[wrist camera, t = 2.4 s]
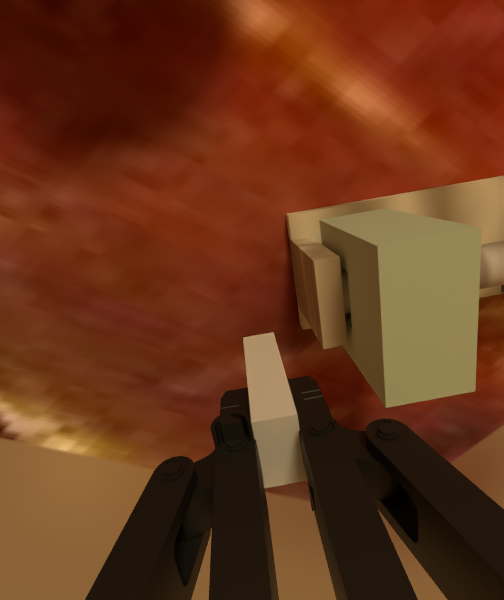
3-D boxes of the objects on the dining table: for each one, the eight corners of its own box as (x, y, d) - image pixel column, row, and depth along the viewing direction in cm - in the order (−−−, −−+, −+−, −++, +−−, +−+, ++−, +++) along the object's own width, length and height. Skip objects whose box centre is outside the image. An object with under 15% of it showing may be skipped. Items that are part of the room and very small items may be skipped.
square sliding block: (330, 328, 30) (385, 407, 20) (319, 220, 28) (377, 245, 17) (389, 318, 31) (475, 391, 20) (384, 208, 28) (482, 227, 17)
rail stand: (300, 324, 33) (326, 375, 25) (285, 213, 30) (310, 228, 22) (545, 280, 34) (654, 315, 25) (557, 166, 31) (686, 161, 22)
